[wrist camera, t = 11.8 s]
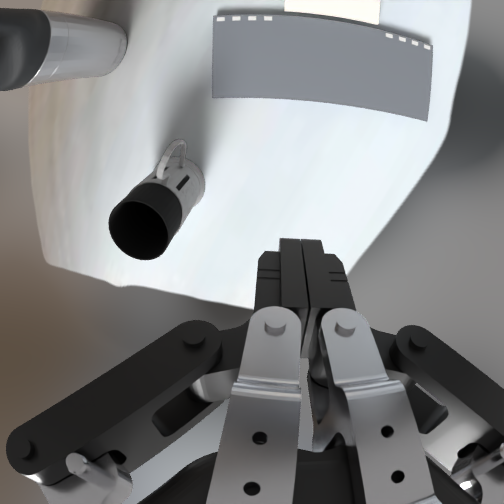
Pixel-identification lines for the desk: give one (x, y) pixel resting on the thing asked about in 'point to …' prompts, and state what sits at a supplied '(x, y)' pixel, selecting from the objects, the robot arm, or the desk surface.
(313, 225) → the desk surface
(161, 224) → the glass holder
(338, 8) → the white square panel
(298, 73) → the board
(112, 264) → the desk surface
